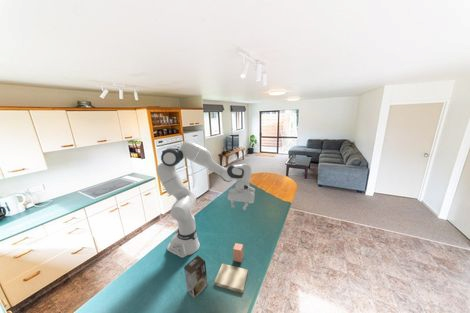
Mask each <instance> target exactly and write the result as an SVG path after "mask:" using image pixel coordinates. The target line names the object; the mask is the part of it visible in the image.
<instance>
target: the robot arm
mask: <svg viewBox="0 0 470 313" xmlns="http://www.w3.org/2000/svg"><path fill="white" fill-rule="evenodd" d="M160 155H161V156H160V160H161V163H160V164H159V165H158V166H156V173H157V176H158V179H159V181H160V182H161V184H162V187H163V188H164V189H165V192H166V193H167V195H171V196H173V197H174V198H175V199H176V200H175V201H174V203H173V204H172V206H171V209H170V212H169V213H170V217H171V218H172V219H173V220H175V221H176V222H177V227H178V229H177V230H176V232H175V234H174V235H173V236H172V238H171V239H170V242H169V243H168V244H167V248H166V250H167V251H168V252H170V253H172V254H174V255H175V256H178V257H179V258H182V259H183V258H185V257H187V256H190V255H193V254H195V253H196V252H197V251H198V250H199V248H200V246H201V243H200V242H199V238H198V232H197V231H198V230H197V229H198V228H197V226H196V219H195V216H194V215H193V214H192V209H193V207H194V205H195V204H196V201H197V194H196V193H195V191H193V190H191V189H189V188H188V187H187V186H186V185H185V184H184V182H183V180H182V178H181V177H180V174H179V173H178V171H177V168H176V166H177V165H178V164H179V163H180V162H181V161H183V160H184V159H187V160H189V161H192V162H193V163H195V164H197V165H200V166H202V167H204V168H206V169H208V170H210V171H212V173H215V174H216V175H218V176H220V178H221V180H223V181H224V182H227V183H230V182H232V181H234V180H235V181H236V183H235V186H231V188H230V189H229V191H228V194H227V200H228V201H230V204H231V206H230V207H231V208H232V209H235V208H236V206H235V204H234V203H235V202H239V203H240V202H241V203H244V205H243V206H242V208H241V209H242V210H243V211H245V210H247V208H248V205H249V204H253V203H254V202H255V197H256V196H255V192H256V189H255V188H254V187H252V186H251V185H250V180H251V179H252V178H251V177H252V167H251V165H250V164H247V163H241V164H231V165H229V166H227V167H224V166H222V165H220V164H219V163H217V162H215V160H214V159H213V157H212V154H211V152H210V151H209V150H208V149H207V148H205V147H203V146H201V145H200V144H197V143H195V142H193V141H189V140H186V141H184V142H183V143H182V144H181V145H180V146H170V147H167V148H166V149H164V151H162V153H161V154H160Z"/></svg>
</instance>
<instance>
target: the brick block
mask: <svg viewBox="0 0 470 313" xmlns="http://www.w3.org/2000/svg"><path fill="white" fill-rule="evenodd" d="M232 250H233V255H232V256H233V261H234V262H237V263H242V261H243V258H244V244H242V243H237V242H235V244H234V246H233V249H232Z"/></svg>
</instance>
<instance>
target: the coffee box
mask: <svg viewBox="0 0 470 313" xmlns="http://www.w3.org/2000/svg"><path fill="white" fill-rule="evenodd" d="M206 266H207V265H206V261H205V260H204V259H203V258H202V257H201V256H199V255H196V256H195V257H193V259H192V260H191V261H189V262H188V263H187V264H186V265H184V267H183V268H184V276H185V282H186V290H187V292H188V293H189V295H191V297H192V298H194V299H195V298H197V296H199V294H200V293H201V292H203V291H204V289H205V288H206V287H207V286H208V285H209V284H208V276H207V275H208V274H207V267H206Z"/></svg>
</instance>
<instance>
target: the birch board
mask: <svg viewBox="0 0 470 313" xmlns="http://www.w3.org/2000/svg"><path fill="white" fill-rule="evenodd" d="M248 274H249V270H248V269H246V268H243V267H238V266H234V265H230V264H226V263H221V266H220V268H219V270H218V273H217V275H216V277H215V280H214V282H213V284H214V286H216V287H220V288H224V289H227V290H231V291H234V292H237V293H241V294H244V289H245V287H246V282H247V279H248Z"/></svg>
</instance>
